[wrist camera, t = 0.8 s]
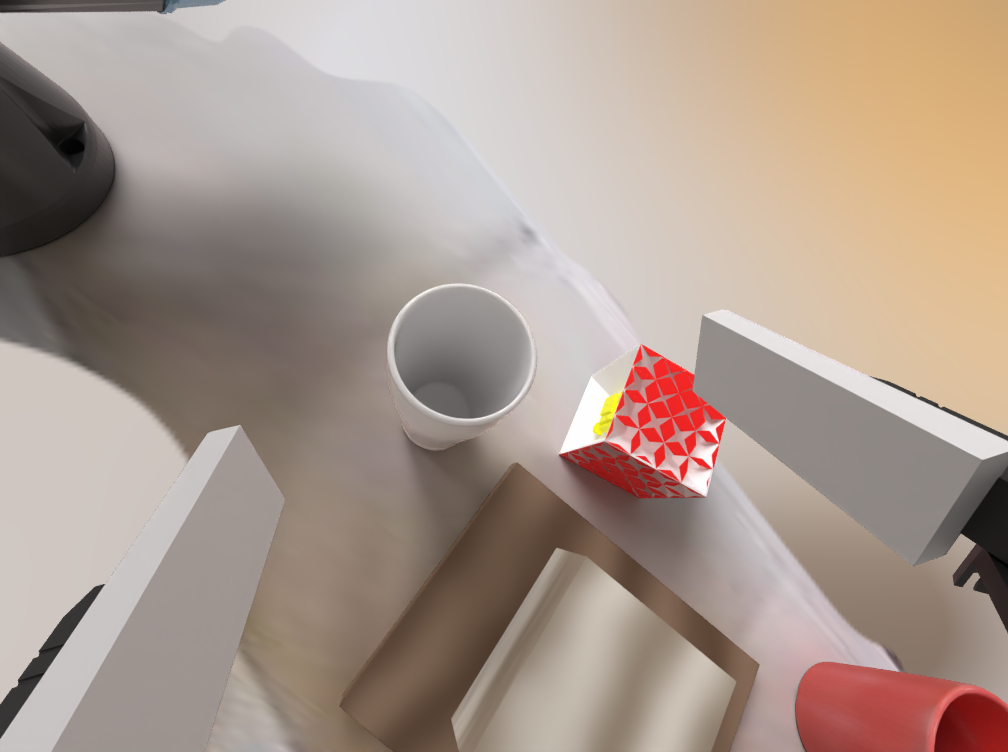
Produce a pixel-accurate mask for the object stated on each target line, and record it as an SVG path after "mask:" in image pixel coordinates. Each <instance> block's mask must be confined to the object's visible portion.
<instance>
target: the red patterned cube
mask: <svg viewBox="0 0 1008 752" xmlns="http://www.w3.org/2000/svg"><path fill="white" fill-rule="evenodd" d="M693 383H694V374H692V373H690V372H688V371H687V370H685V369H683V368H682V367H680V366H678V365H676V364H675V363H673V362H671V361H669V360H668V359H666V358H664V357H663V356H661V355H659V354H658V353H656V352H654V351H652V350H650V349H649V348H647V347H645V346H644V345H642V344H639V345H638V346H636V347H635V348H633V349H632V350H630V351H628V352H627V353H625V354H624V355H622V356H621V357H619V358H618V359H616V360H615V361H613V362H612V363H610V364H609V365H607V366H605V367H604V368H602V369H601V370H599V371H598V372H596V373H595V374H593V375H592V376H591V379H590V381H589V383H588V386H587V388H586V391H585V393H584V395H583V398H582V400H581V403H580V405H579V408H578V410H577V412H576V415H575V417H574V420H573V422H572V425H571V427H570V429H569V432H568V434H567V437H566V439H565V442H564V444H563V446H562V449H561V451H560V454H559V455H560V456H562V457H564V458H566V459H568V460H570V461H571V462H573V463H575V464H578V465H579V466H581V467H583V468H585V469H587V470H588V471H590V472H592V473H594V474H596V475H598V476H600V477H601V478H603V479H605V480H607V481H609V482H611V483H613V484H614V485H616V486H618V487H620V488H622V489H624V490H625V491H627V492H629V493H631V494H633V495H635V496H637V497H638V498H685V497H687V498H695V497H707V493H708V489H709V485H710V481H711V477H712V473H713V469H714V464H715V460H716V456H717V452H718V448H719V444H720V440H721V436H722V432H723V427H724V424H725V420H726V417H724V416H723V415H722V414H721V413H719V412H718V411H717V410H715V409H714V408H713V407H712V406H710V405H709V404H708V403H707V402H705V401H704V400H703V399H702V398H700V397H699V396H698V395H697V394H695V393H694V392H693Z"/></svg>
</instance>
